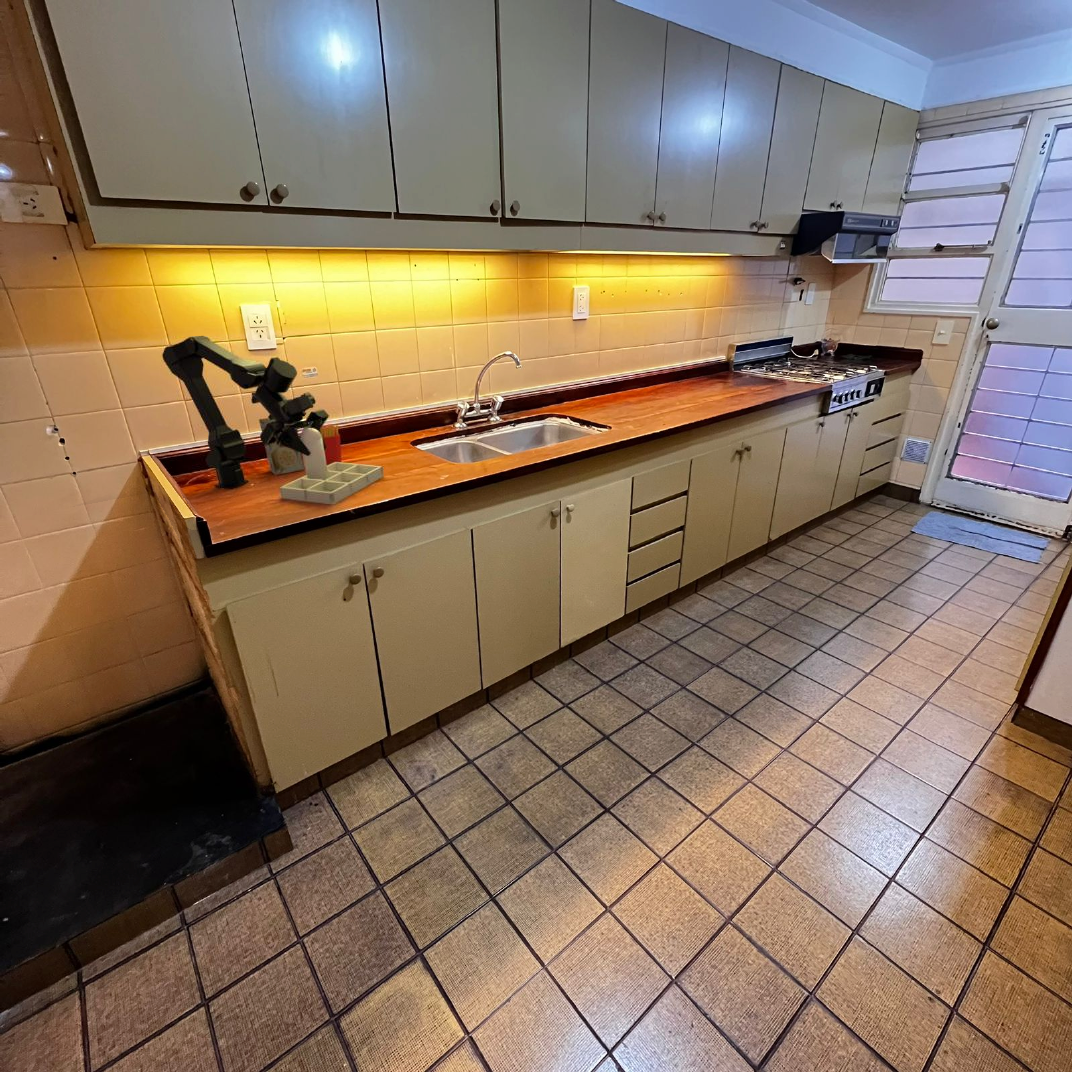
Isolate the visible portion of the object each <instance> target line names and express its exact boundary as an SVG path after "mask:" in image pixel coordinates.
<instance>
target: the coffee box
mask: <svg viewBox="0 0 1072 1072" xmlns="http://www.w3.org/2000/svg"><path fill="white" fill-rule="evenodd" d="M258 421H259V424H260V429H261V432H262V431H263V429H264V427H265V426H266V424H267V423H271V422H275V420H274V419H273V420H270V419H269V418H268V417H266V418H260V419H258ZM295 431H296V434H297V436H298V437H299V438H300V435H299V433H298V429H297V430H295ZM274 437H275V438H276V441H275V443H274V444H271V445H267V446H266V445H265V444H264V447H265V451H266V457H267V461H268V464H269V465H268V466H269V469H270V472H272V473H273V475H275V476H278V475H283V474H287V473H293V472H298V471H303V470H305V471H306V469H305V463H304V458H303V454H302V453H300V452H298V451H296V450H293V449H291V448H288V447H286V446H283V445H277V441H278V439H277V437H276V436H274Z"/></svg>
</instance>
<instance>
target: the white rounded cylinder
mask: <svg viewBox="0 0 1072 1072" xmlns="http://www.w3.org/2000/svg"><path fill="white" fill-rule="evenodd" d="M299 439H300V440H301V441H302V442H303V443H304V445H305V446H306V447H307V448H308V450H309V451H310V455H309V456H307V455H304V454H302V455H303V460H304V465H305V474H306V475H307V478H308V479H322V478H325V477H327V476H328V471H327V465H326V458H325V452H324V446H323V440H322V435H321V433H320V432H319V431H318V430H316V429H314V428H307V429H305V430H304V429H303V430H302V431H301V433H300V435H299Z"/></svg>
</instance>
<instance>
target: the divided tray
mask: <svg viewBox="0 0 1072 1072" xmlns="http://www.w3.org/2000/svg"><path fill="white" fill-rule="evenodd" d="M341 462H342V461H341ZM341 462H334V463H332V464H330V465H327V471H328V476H327V477H325V478H322V479H308V478H307V474H306V475H304V476H300V477H299V478H297V479H295V480H293V481H290V482H288V483H286V484H284V485H282V486H279V487H278V488H279V494H280V497H281V499H284V500H293V501H299V502H308V503H316V504H317V503H318V504H326V505H332V506H333V505H335V504H337V503H339V502H340V501H343V500H344V499H346V498H347V497H349V496H352V495H353V494H354V493H357V492H359V491H360V490H362V489H364V488H366V487H367V486H369V485H370V484H371V485H372V484H373V483H374V482H377V481H378V480H380V479H382V478H383V477H384V469H383V466H382V465H371V464H363V463H362V464H361V463H350V462H349V463H348V462H342V463H341Z"/></svg>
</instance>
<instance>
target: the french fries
mask: <svg viewBox="0 0 1072 1072" xmlns="http://www.w3.org/2000/svg"><path fill="white" fill-rule="evenodd" d="M320 431H321V434H322V437H323V440H324V442H325V445H326V450H324V452H325V458H326V465H330V464H332V463H334V462H341V463H343V462H342V449H341V448H342V447H341V446H342V445H341V434H339V425H333V424H326V425H323V426H322V428H321V429H320Z"/></svg>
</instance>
